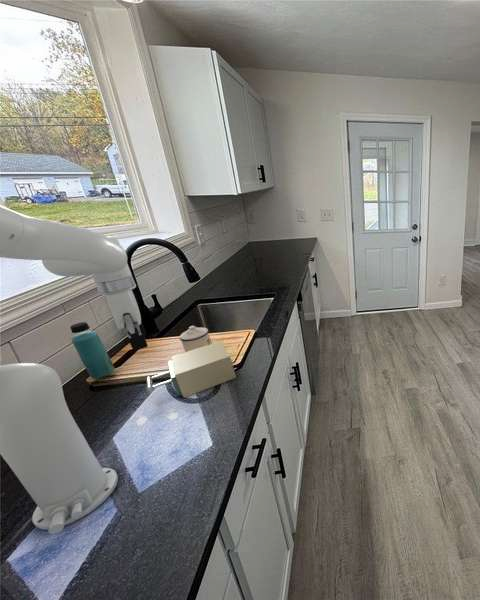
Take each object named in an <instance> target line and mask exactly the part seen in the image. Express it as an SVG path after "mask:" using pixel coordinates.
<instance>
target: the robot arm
mask: <svg viewBox="0 0 480 600" xmlns="http://www.w3.org/2000/svg"><path fill="white" fill-rule="evenodd" d="M127 254H128V253H127V252H126V250H125V248H124V247H123V246H122V245H121V244H120V241H119V240H118V239H117V238H116V237H114V236H109V235H108V236H107V235H105V234H102V233H100V232H98V231H95V230H94V229H93V230H92V229H90V228H86V227H83V226H82V227H81V226H77V225H73V224H69V223H64V222H63V223H62V222H58V221H54V220H48V219H45V218H44V219H43V218H38V217H37V218H36V217H33V216H28V215H25V214H22V213H20V212H17V211H15V210H13V209H11V208H7V207H5V206H3V205H0V258H5V259H11V260H13V259H14V260H25V261H26V260H27V261H41V263H42V265H43V267H44V268H45V269H46V270H47V271H48V272H49V273H51V274H53V275H56V276H59V277H81V276H90V275H91V277H92V280H93V282H94V284H95V286H96V289H97V291H98V293H99V295H102V296H105V298H106V301H107V304H108V306H109V309H110V312H111V313H112V317H113V319H114V321H115V322H114V323H115V325H116V327H117V330H119V331H123V329H125V333H126V335H127V339H128V341H129V344H130V345H131V346H130V347H131V349H132V351H134V352H135V351H139V350H142V349H146V348H148V346H149V345H148V342H147V339H146V338H145V337H146V336H147V332H146V329H145V326H144V324H143V322H142V317H141V316H142V315H141V312H140V309H139V308H140V307H139V305H138V302H137V299H136V297H135V293H134V292H133V290H134V289H135V288H137V284H136V281H135V279H134V277H133V274H132V272H131V269H130V267H129V264H128V255H127ZM1 362H2V352H0V363H1ZM0 456H1V457H2V459H3V460H4V461H5V462H6V464H7V465H8V466H9V468H10V469H11V471H12V472H13V473H14V475H15V477H17V479H18V481H20V484H21V485H22V486H23V488H24V489H25V490H26V491H27V493H28V494H29V496H30V497H31V498H32V500H33V501H34V503H35V504H36V505H37V506H36V508H35V510H33V514H32V516H31V521H32V523H33V525H34V526H35V527H36V528H37V529H39V530H43V531H45V530H46V531H48V534H50V535H56V534H59V533H60V532H62V531H63V530H64V528H65V526H67V525H69V524H72V523H74V522H76V521H78V520H80V519H82V518H84V517H85V516H87V515H88V514H90V513H91V512H93V511H94V510H95V509H97V508H98V507H99V506H100V505H101V504H103V503H104V502H105V501H106V500H107V499H108V498H109V497H110V496H111V495H112V493H113V492H114V491H115V488H116V487H117V485H118V483H119V476H118V473H117V471H116V470H115V469H113V468H110V467H102V466H101V465H100V463H99V460H98V459H97V457H96V456H95V454H94V452H93V450H92V449H91V447H90V445H89V443H88V441H87V439H86V438H85V436H84V434H83V433H82V431H81V429H80V427H79V426H78V423H77V422H76V420H75V419H74V417H73V414H72V413H71V411H70V409H69V407H68V405H67V402H66V399H65V395H64V390H63V384H62V381H61V378H60V376H59V373H57V371H56V370H55V369H54V368H52V367H50V366H49V365H45V364H42V363H36V362H17V363H10V364H2V365H1V364H0Z"/></svg>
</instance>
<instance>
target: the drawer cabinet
mask: <svg viewBox="0 0 480 600" xmlns="http://www.w3.org/2000/svg"><path fill="white" fill-rule="evenodd" d="M170 359H171V360H172V364H173V369H174V373H175V377H176V379H177V382H178V385H179V387H180V390H181V392H182V395H181V396H182V397H183V398H184V399H185V398H187V397H190V396H192V395H194V394H197V393H200V392H203V391H205V390H208V389H210V388H213V387H216V386H218V385H220V384H224V383H226V382H229V381H231V380H234V379H236V378H237V376H236V375H237V374H236V372H235V369H234V365H233V362H232V358H231V356H230V354H229V352H228V350H227V349H226V347H225V345H224V344H223V342H222V341H221V340H219V341H216V342H213V343H212V344H210V345H207V346H203V347H200V348H197V349H194V350H191V351H188V352H185V351H184V352H182V353H178V354H175V355H172V356H170Z"/></svg>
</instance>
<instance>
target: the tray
mask: <svg viewBox="0 0 480 600" xmlns="http://www.w3.org/2000/svg"><path fill="white" fill-rule="evenodd" d="M167 367H168V371H165V372H162V373H159V374H156V375H153V376H151V375H150V376H147V377H145V384H146V385H145V386H146V391H147V392H151V391H153V390H154V389H155V388H160V387H161V386H164V385H167V384H170V383H172V385H173V388H174V391H175V393H176V396H177V397H179V396H183V395H182V392H181V390H180V387H179V385H178V382H177V379H176V377H175V373H174V369H173V364H172V360H168V361H167ZM167 375H169V377H170V379H168V380H166V381H163V382H160V383H157V384H153V380H154V379H158V378H161V377H164V376H167Z"/></svg>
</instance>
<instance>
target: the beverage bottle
mask: <svg viewBox="0 0 480 600" xmlns="http://www.w3.org/2000/svg"><path fill="white" fill-rule="evenodd" d="M69 327H70V331H71V333H72V334H74V336H73V337H72V338H71V343H72V345H73V346H74V348H75V350H76V353H77V355H78V357H79V359H80V362H81V363H82V365H83V367H84V368H85V370H86V372H87V374H88V376H89V377H90V378H91V379H100V378H103V377H106V376H108V375H110V374H112V373H113V372H114V371H115V366H114V363H113V361H112V359H111V357H110V355H109V353H108V351H107V349H106V348H105V345H104V343H103V342H102V340H101V338H100V336H99V333H98V332H96V331H94V330H90V329H91V328H90V325H89V323H87V322H86V321H82V322H77V323H74V324H71V325H70V326H69Z"/></svg>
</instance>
